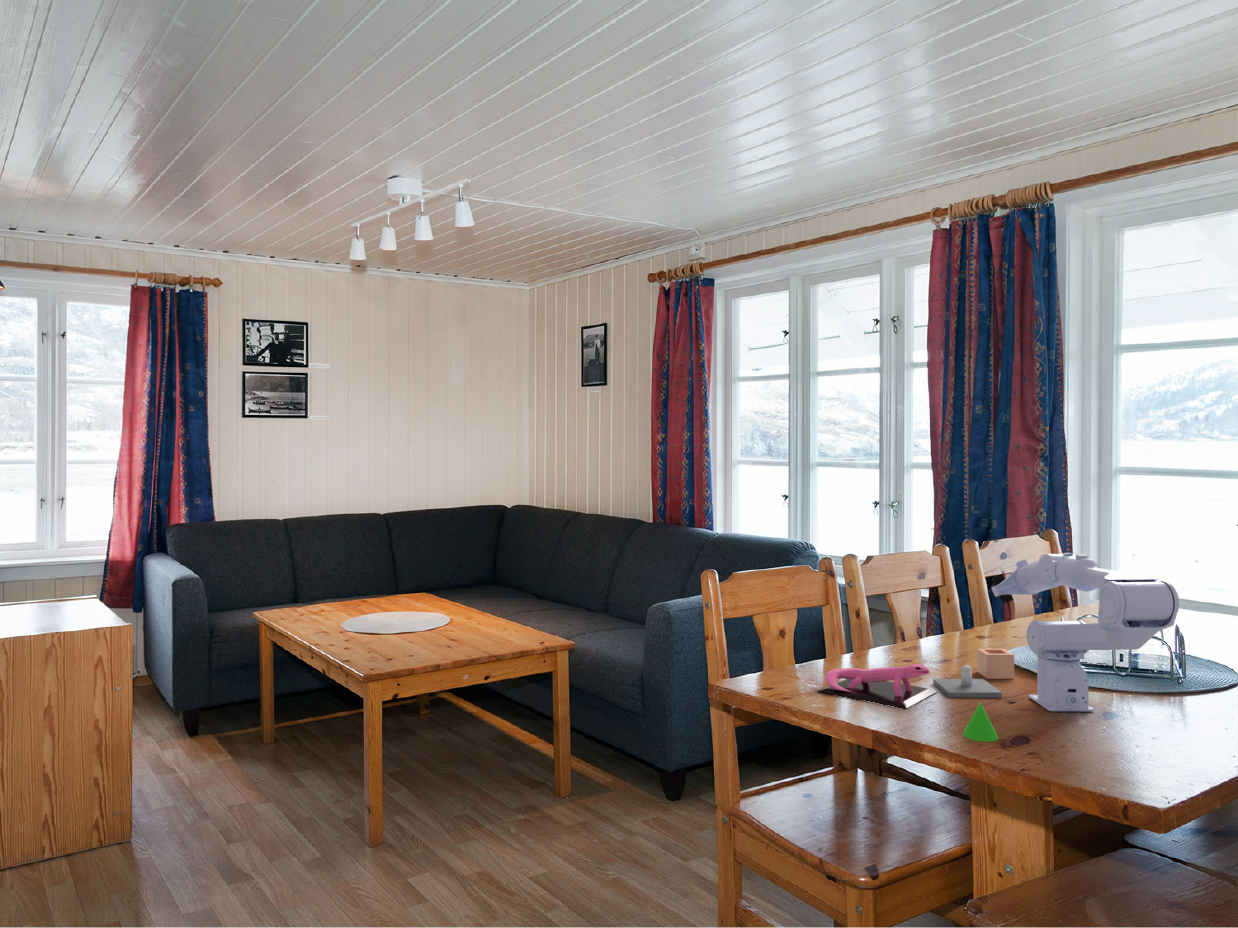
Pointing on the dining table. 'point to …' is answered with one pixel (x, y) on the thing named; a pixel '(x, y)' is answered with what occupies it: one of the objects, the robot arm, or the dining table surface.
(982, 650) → the collar
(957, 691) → the post plate
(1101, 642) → the robot arm
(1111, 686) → the dining table surface
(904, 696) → the lizard figurine
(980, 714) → the green cone
